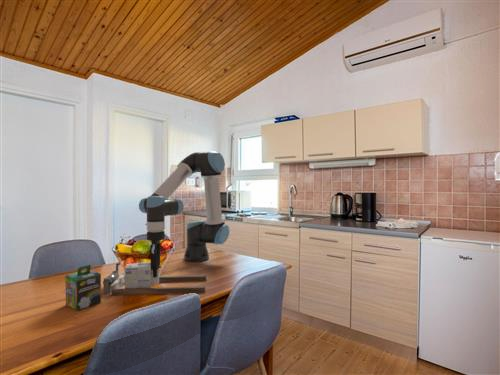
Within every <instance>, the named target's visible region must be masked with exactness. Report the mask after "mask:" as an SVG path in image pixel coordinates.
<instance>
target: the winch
mask: <svg viewBox="0 0 500 375" xmlns="http://www.w3.org/2000/svg"><path fill="white" fill-rule="evenodd" d="M120 265H121V262H117V263H116V264H115V270H112V273H110V274H109V275H108V276H107V277H105V278H103V281H102V285H103V294H109V293H110V285H111V284H113V283H114V282H115V281H116V280H117V279H118V278H119V277H120V274H119V266H120Z"/></svg>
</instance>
